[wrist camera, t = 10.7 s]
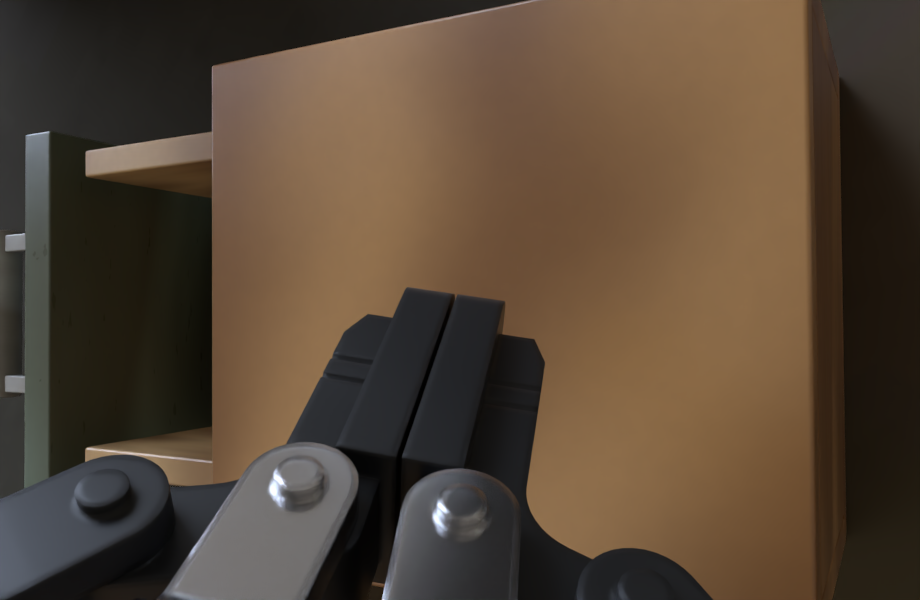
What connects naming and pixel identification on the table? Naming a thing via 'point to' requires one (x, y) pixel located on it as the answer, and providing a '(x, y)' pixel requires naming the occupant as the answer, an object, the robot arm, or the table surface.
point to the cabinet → (568, 256)
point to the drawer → (112, 304)
